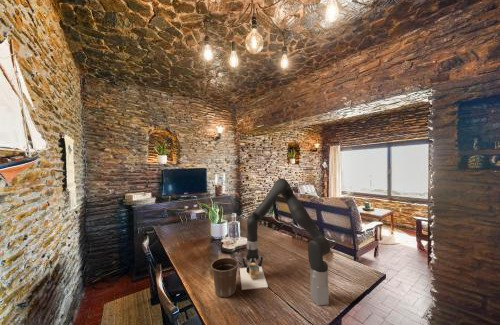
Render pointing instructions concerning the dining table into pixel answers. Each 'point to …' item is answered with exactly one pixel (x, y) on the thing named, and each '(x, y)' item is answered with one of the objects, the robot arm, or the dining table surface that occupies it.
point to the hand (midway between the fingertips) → (252, 272)
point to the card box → (253, 270)
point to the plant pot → (224, 276)
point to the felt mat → (252, 280)
